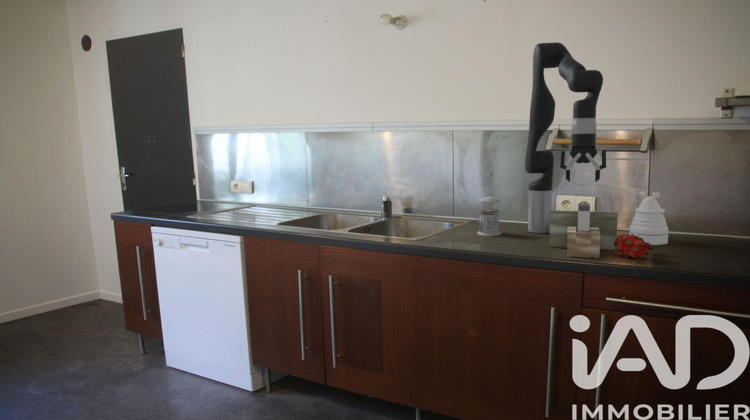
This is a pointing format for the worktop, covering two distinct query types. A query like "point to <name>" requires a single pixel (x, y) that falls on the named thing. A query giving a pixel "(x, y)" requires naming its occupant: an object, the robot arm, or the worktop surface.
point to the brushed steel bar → (583, 217)
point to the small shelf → (583, 233)
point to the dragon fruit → (632, 246)
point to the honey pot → (650, 222)
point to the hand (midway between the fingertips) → (582, 181)
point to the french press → (488, 216)
